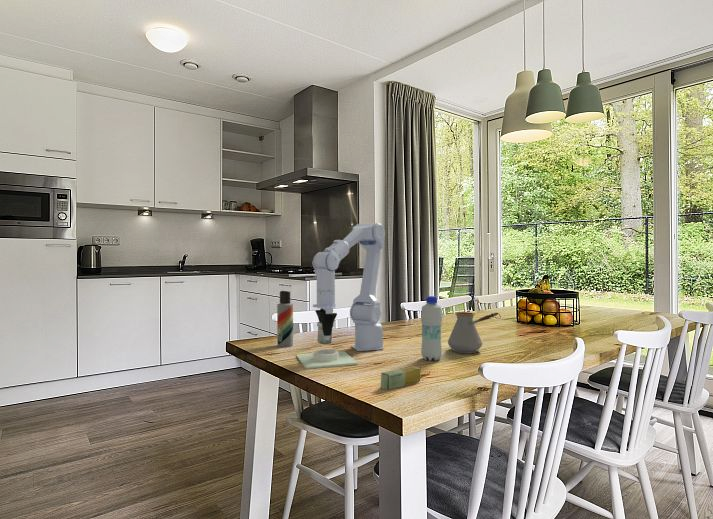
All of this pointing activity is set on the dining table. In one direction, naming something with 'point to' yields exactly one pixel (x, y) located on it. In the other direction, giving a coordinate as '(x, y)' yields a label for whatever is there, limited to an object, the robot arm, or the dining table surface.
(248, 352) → the dining table surface
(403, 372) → the medication box
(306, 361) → the duct flange
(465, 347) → the coffee pot
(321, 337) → the silver canister
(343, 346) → the dining table surface
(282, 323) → the lotion bottle
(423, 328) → the bottle
